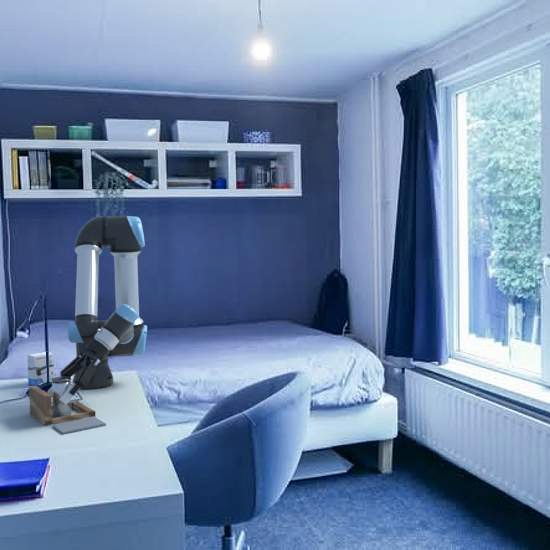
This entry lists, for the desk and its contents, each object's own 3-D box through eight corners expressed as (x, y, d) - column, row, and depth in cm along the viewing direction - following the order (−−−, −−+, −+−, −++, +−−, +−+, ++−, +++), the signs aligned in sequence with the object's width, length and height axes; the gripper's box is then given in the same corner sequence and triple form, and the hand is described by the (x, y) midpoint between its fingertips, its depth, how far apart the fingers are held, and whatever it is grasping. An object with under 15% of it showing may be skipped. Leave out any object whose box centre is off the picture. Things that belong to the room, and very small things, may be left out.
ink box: (35, 386, 235) (33, 356, 234) (27, 385, 238) (26, 354, 237) (54, 382, 242) (53, 352, 241) (47, 380, 245) (46, 351, 244)
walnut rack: (77, 405, 208) (76, 379, 207) (95, 416, 195) (94, 388, 195) (30, 414, 198) (28, 386, 198) (45, 425, 186) (44, 396, 185)
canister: (68, 411, 201) (67, 375, 200) (74, 415, 196) (73, 378, 196) (50, 414, 197) (48, 378, 197) (56, 419, 193) (54, 381, 192)
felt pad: (94, 418, 193) (94, 416, 193) (105, 425, 185) (105, 423, 185) (52, 426, 185) (52, 425, 185) (62, 434, 178) (62, 432, 178)
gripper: (80, 333, 211) (36, 384, 203) (107, 342, 193) (60, 399, 184) (96, 346, 215) (53, 397, 206) (124, 356, 196) (78, 413, 188)
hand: (56, 398), depth 195 cm, fingers open, 11 cm apart
